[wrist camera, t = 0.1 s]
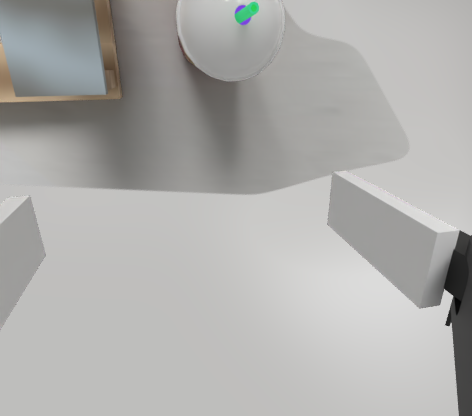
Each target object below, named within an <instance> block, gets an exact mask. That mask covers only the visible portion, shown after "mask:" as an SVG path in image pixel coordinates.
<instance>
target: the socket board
mask: <svg viewBox="0 0 472 416" xmlns="http://www.w3.org/2000/svg"><path fill="white" fill-rule="evenodd" d="M0 36H1V40H2V43H0V103H1V102H35V101H69V100H103V99H121V98H122V97H123V96H122V89H121V81H120V74H119V67H118V59H117V52H116V44H115V37H114V29H113V22H112V15H111V7H110V0H0Z"/></svg>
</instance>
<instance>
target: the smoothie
mask: <svg viewBox="0 0 472 416" xmlns="http://www.w3.org/2000/svg"><path fill="white" fill-rule="evenodd" d="M176 23H177V34H178V39H179V45H180V48H181V50H182V52H183V55H184V56H185V57H186V58H187V59H188V61H189V62H190V63H191V64H193V65H194V66H196V67H197V68H199V69H200V70H201V71H203V72H204V73H206V74H207V75H209V76H210V77H213V78H216V79H219V80H223V81H226V82H230V81H243V80H246V79H248V78H251V77H253V76H256V75H258V74H259V73H260V72H261V71H262V70H264V69H265V68H266V67H267V66H268V65H269V64H270V63H271V62H272V60H273V58H274V57H275V55H276V54H277V52H278V51H279V49H280V46H281V42H282V39H283V35H284V32H285V9H284V5H283V1H282V0H178V2H177V8H176Z"/></svg>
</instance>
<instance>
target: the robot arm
mask: <svg viewBox="0 0 472 416" xmlns="http://www.w3.org/2000/svg"><path fill="white" fill-rule="evenodd" d="M327 224H328V226H330V227H331V228H332V229H333V230H334V231H335V232H336V233H337V234H338V235H339V236H341V237H342V238H343V239H344V240H345V241H346V242H347V243H348V244H349V245H350V246H352V247H353V248H354V249H355V250H356V251H357V252H358V253H359V254H360V255H362V256H363V257H364V258H365V259H366V260H367V261H368V262H369V263H370V264H371V265H372V266H374V267H375V268H376V269H377V270H378V271H379V272H380V273H381V274H382V275H384V276H385V277H386V278H387V279H388V280H389V281H390V282H391V283H392V284H393V285H394V286H395V287H397V288H398V289H399V290H400V291H401V292H402V293H403V294H404V295H405V296H406V297H408V298H409V299H410V300H411V301H412V302H413V303H414V304H415V305H416V306H417V307H419V308H426V307H432V306H437V305H440V303H441V299H442V295H443V292H444V289H445V290H447V291H448V292H449V293H451V294H452V295H453V300H452V303H451V307H450V310H449V314H448V317H447V321H446V324H445V325H446V326H450V323H451V322H452V331H453V344H454V357H455V370H456V383H457V395H458V409H459V416H472V235H471V236H470V235H468V234H466V233H464V232H462V231H460V230H458V229H457V228H455V227H453V226H451V225H449V224H447V223H445V222H443V221H441V220H440V219H438V218H436V217H434V216H432V215H430V214H428V213H426V212H424V211H423V210H421V209H419V208H417V207H415V206H413V205H411V204H409V203H407V202H406V201H404V200H402V199H400V198H398V197H396V196H394V195H392V194H390V193H388V192H386V191H385V190H383V189H381V188H379V187H377V186H375V185H373V184H372V183H370V182H368V181H366V180H364V179H362V178H360V177H358V176H356V175H355V174H353V173H351V172H349V171H337V172H332V183H331V193H330V204H329V213H328V223H327ZM45 255H46V254H45V251H44V247H43V243H42V240H41V235H40V232H39V228H38V224H37V220H36V216H35V213H34V209H33V205H32V201H31V197H30V196H16V197H8V198H7V199H6V200H5V201H4V202H3V203H1V204H0V330H1V328H2V326H3V325H4V323H5V321H6V320H7V318H8V317H9V315H10V313H11V312H12V310H13V308H14V307H15V305H16V303H17V302H18V300H19V298H20V297H21V295H22V293H23V292H24V290H25V289H26V287H27V285H28V284H29V282H30V280H31V279H32V277H33V275H34V274H35V272H36V271H37V269H38V267H39V266H40V264H41V262H42V261H43V259H44V257H45Z"/></svg>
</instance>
